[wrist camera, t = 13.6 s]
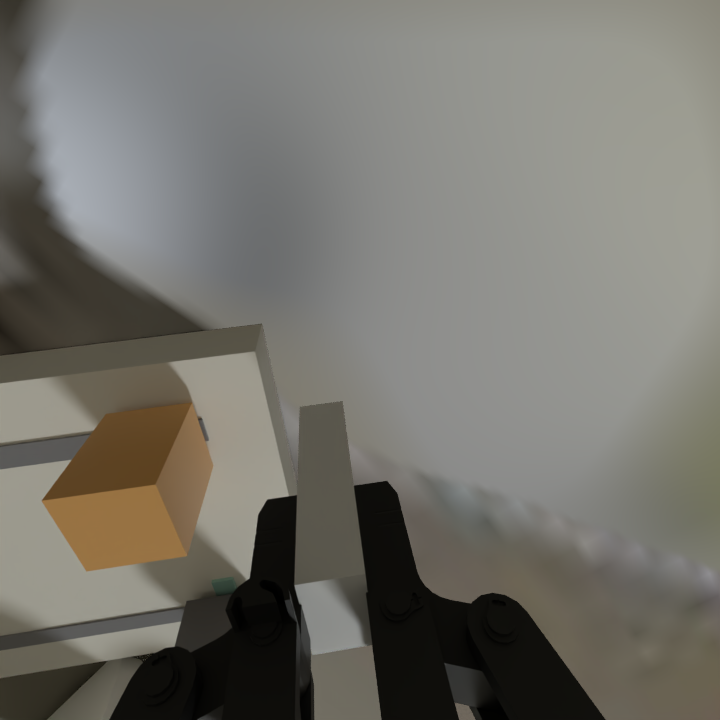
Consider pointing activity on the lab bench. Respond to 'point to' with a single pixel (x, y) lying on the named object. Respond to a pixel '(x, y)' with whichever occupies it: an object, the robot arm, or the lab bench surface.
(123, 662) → the cable organizer
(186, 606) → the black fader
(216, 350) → the mixing board
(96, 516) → the orange fader
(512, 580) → the lab bench surface
